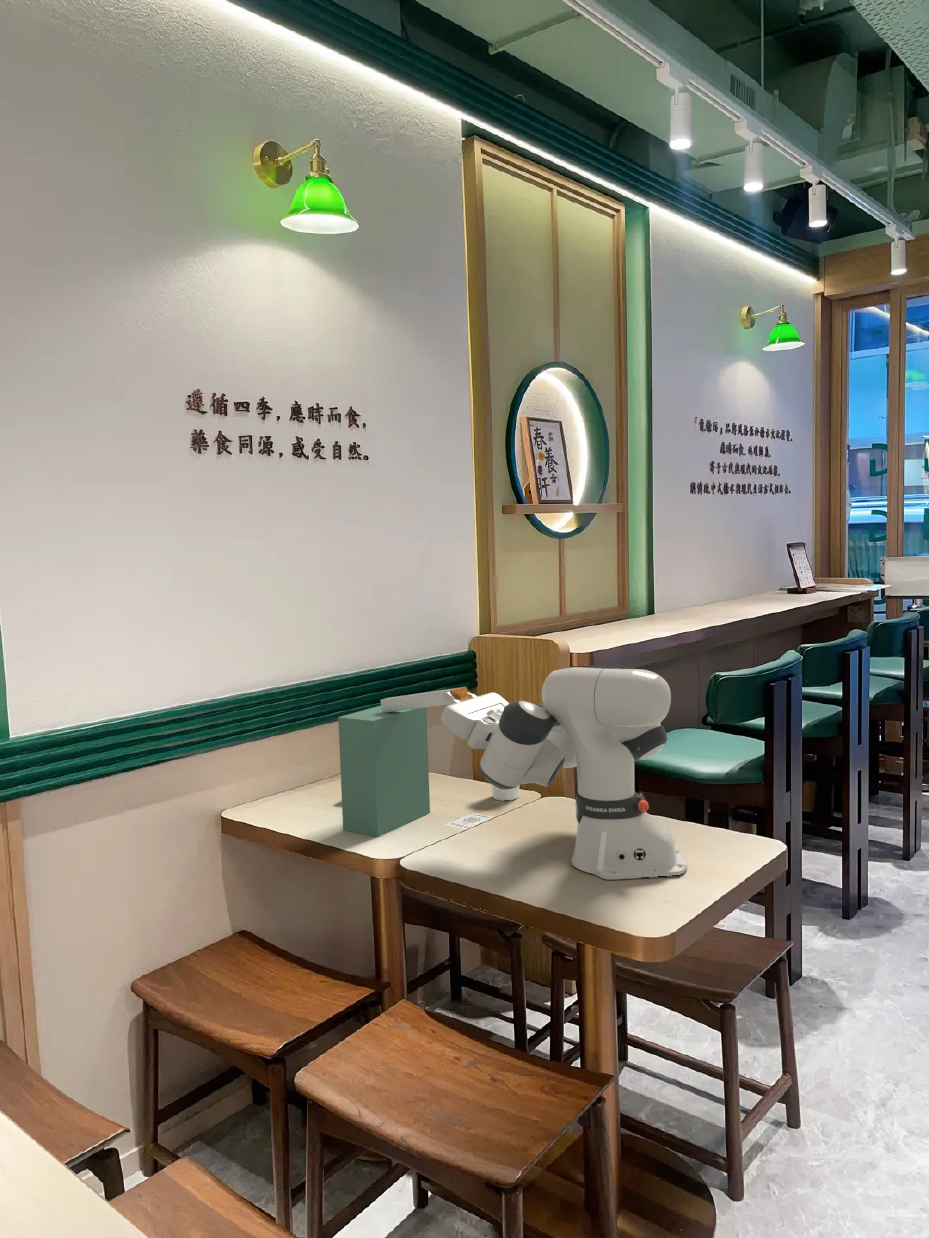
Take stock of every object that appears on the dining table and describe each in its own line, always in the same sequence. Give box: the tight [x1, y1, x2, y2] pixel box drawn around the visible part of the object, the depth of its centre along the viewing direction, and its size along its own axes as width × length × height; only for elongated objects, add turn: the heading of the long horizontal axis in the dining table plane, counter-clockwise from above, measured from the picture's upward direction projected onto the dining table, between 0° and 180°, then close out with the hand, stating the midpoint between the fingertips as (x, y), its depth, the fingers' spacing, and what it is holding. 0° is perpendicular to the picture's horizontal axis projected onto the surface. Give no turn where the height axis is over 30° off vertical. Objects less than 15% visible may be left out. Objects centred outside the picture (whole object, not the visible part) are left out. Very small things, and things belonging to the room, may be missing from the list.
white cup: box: [490, 783, 521, 802], centre depth 233 cm, size 8×8×10 cm
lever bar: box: [380, 686, 469, 713], centre depth 208 cm, size 22×3×3 cm, turn 57°
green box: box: [337, 705, 431, 838], centre depth 215 cm, size 10×20×26 cm, turn 147°
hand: (451, 692), depth 203 cm, fingers closed on lever bar, 3 cm apart
